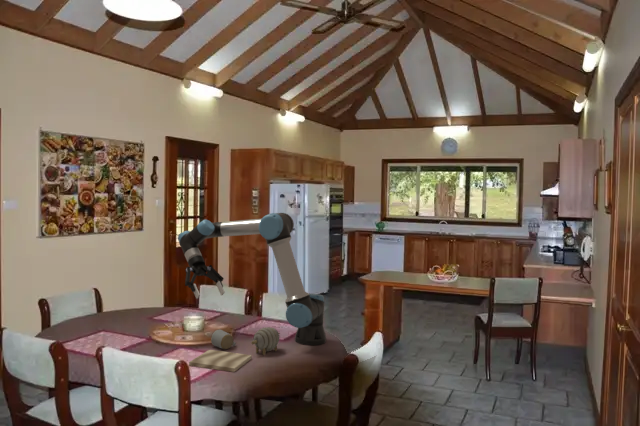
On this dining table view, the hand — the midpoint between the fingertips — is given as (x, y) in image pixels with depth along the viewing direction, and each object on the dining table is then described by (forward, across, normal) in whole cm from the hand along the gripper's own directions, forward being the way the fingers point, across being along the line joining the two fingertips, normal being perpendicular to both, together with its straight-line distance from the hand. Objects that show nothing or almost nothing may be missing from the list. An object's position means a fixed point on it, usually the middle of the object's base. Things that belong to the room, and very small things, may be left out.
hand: (210, 295), depth 253 cm
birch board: (+35, +12, +4) cm, 37 cm away
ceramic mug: (+24, -1, -8) cm, 25 cm away
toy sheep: (+36, -11, +4) cm, 37 cm away
